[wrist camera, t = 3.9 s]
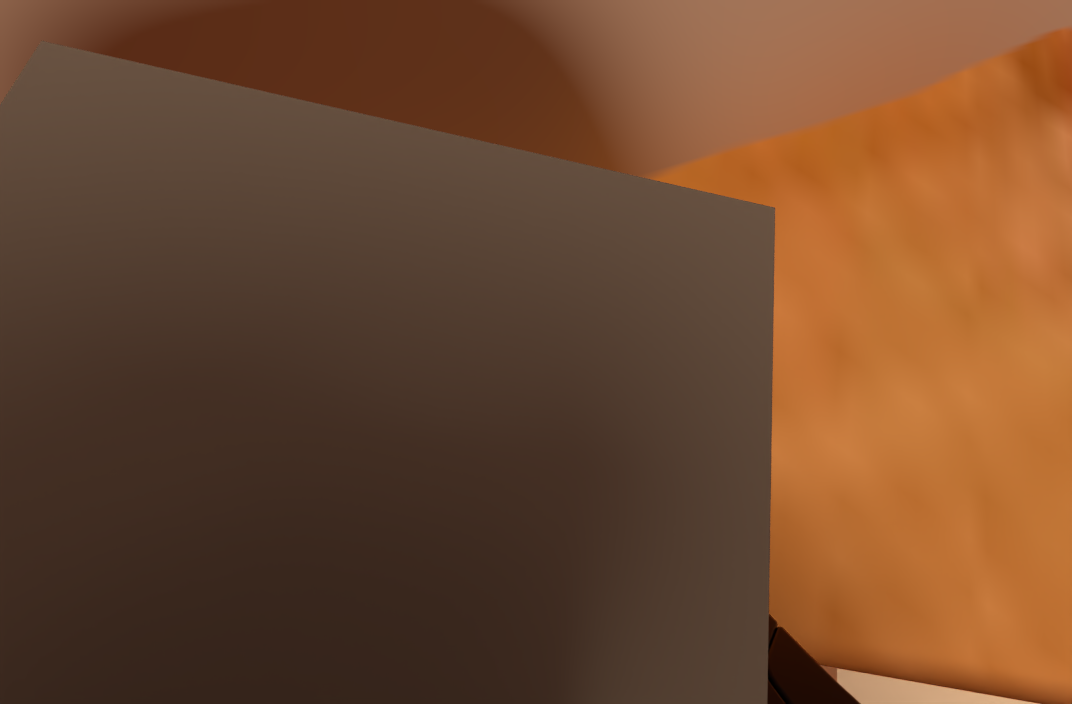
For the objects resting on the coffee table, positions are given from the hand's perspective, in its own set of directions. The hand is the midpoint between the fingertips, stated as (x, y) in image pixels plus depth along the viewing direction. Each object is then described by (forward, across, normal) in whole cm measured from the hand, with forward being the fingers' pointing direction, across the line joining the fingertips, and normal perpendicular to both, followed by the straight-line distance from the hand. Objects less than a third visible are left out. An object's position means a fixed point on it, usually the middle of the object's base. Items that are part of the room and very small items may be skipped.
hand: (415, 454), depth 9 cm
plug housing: (+4, 0, +6) cm, 7 cm away
